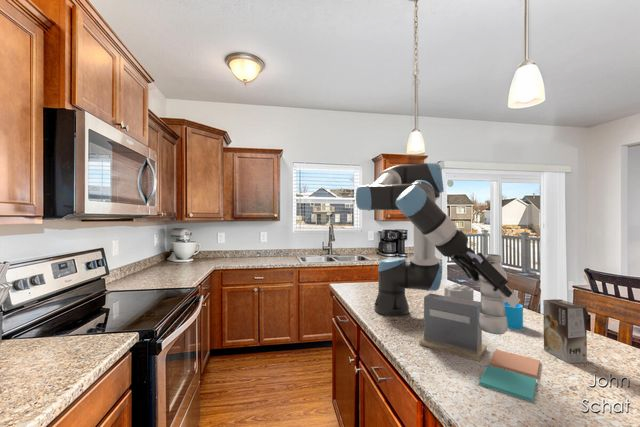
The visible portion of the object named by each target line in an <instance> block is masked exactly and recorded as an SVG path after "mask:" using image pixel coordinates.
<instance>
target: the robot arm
mask: <svg viewBox="0 0 640 427" xmlns="http://www.w3.org/2000/svg"><path fill="white" fill-rule="evenodd" d="M441 167H442V166H441V165H440V164H438V163H435V162H434V163H433V162H432V163H431V162H429V163H428V162H427V163H411V164H397V165H394V166H391V167H388V168H387V169H384V170H383V171H381V172H380V173H379V174H378V176H377V178H376V180H375V181H374V182H373V183H372V184H365V185H359V186H357V187H356V191H355V205H356V207H357V208H358V210H360V211H362V210H363V211H400V212H401V214H402V215H403V216H405V218H407V219H408V221H410V223H412V225H413V255H412V256H411V257H410V258H409V261H407V260H406V258H404V257H392V258H391V257H390V258H385V259H381V260H380V261H379V263H378V269H377V272H378V291H377V292H378V293H377V296H376V298H375V302H374V311H375V312H376V313H378V314H381V315H385V316H391V317H392V316H393V317H400V316H406V315H408V314H409V313H410V306H409V303H408V300H407V296H406V289H407V290H419V291H427V292H429V291H432V292H433V291H434V292H436V291H438V290H439V289H440V287H441V283H442V277H443V264H442V263H440V260H439V258H438V257H436V249H437V251H438V252H439V253H441V255H442V256H443V257H445V258H446V257H448V258H449V259H451V260H452V261H453V263H454V264H455V265H456V266H457V267H458V268H459V269H460V270H461V272H463V274H465V276H466V277H467V278H468V279H471V280H472V281H473V282H476V283H477V285H478V286H479V287H480V283H479V277H478V273H479V274H480V275H481V276H482V277H483V278H484V279H486V280H487V281H488V282H489V283H490V284H491V285H492V286H493V287H494V289H493V290H494V291H495V292H497V293H498V294H499V295H500V296H501V297H502V298H503V299H504V300H505V302H507V303H508V304H509V305H510V306H511V307H512V308H514V307H515V306H516V305H517V304H520V302H521V300H522V299H520V297H518V296H517V294H516V293H514V292H513V290H512V289H511V288H510V287H509V286H508V285H507V283H509V281H508V279H507V280H506V279H505V278H504V277H503V276H502V275H501V274H500V273H499V272H498V271H497V270H496V269H495V268H494V267H493V266H492V265H491V264H490V263H489V262H488V261H487V260H486V259H485V255H484V254H483V253H482V252H478V253H477V254H476V253H475V251H474V249H472V248H471V247H469V246H467V244H468V240H469V238H468V236H467V235H466V234H465V233H464V231H462V230H461V228H459V227H457V225H456V223H455V222H453V221H452V219H451V216H450V215H447V214H446V213H445V212H444V211H443V210H442V209H441V208H440V207H439V206H438V204H437V202H436V201H438V199H439V198H440V197H441V196H440V193H441V194H442V193H444V192H445V190H444V180H443V174H442V168H441Z"/></svg>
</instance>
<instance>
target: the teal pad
mask: <svg viewBox="0 0 640 427" xmlns="http://www.w3.org/2000/svg"><path fill="white" fill-rule="evenodd" d="M478 385H479V386H483V387H485V388H488V389H492V390H494V391H497V392H500V393H504V394H507V395H510V396H513V397H516V398H519V399H522V400H525V401H528V402H531V403H533V401H534V397H535V390H536V386H537V379H536V378H533V377H529V376H526V375H522V374H519V373H515V372H512V371H508V370H505V369H501V368H498V367H494V366H491V365H489V364H487V365H486V368H485V369H484V371H483V372H482V375H481V377H480V378H479V380H478Z"/></svg>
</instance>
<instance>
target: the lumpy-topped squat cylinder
mask: <svg viewBox="0 0 640 427" xmlns="http://www.w3.org/2000/svg"><path fill="white" fill-rule="evenodd" d="M443 291H444V293H443V294H444V295H443V296H448V297H454V298H460V299H466V300H472V301H474V288H473V287H470V286H468V285H466V284H460V285H459V284H458V283H453V284H448V285H446V286H444V290H443Z"/></svg>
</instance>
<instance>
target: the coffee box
mask: <svg viewBox="0 0 640 427" xmlns="http://www.w3.org/2000/svg"><path fill="white" fill-rule="evenodd" d="M542 302H543V303H542V304H543V312H542V313H543V350H544V351H545V352H547V353H549V354H551V355H553V356H554V357H556V358H558V359H560V360H561V361H564V362H566V363H567V364H577V363H578V364H582V363H585V364H586V363H588V348H587V347H588V344H587V343H588V340H587V339H588V337H587V335H588V334H587V332H588V330H587V327H588V326H587V323H588V322H587V320H588V319H587V307H586V306H582V305H579V304H576V303H573V302H569V301H565V300H563V299H557V298H556V299H553V298H552V299H544V300H542Z"/></svg>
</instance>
